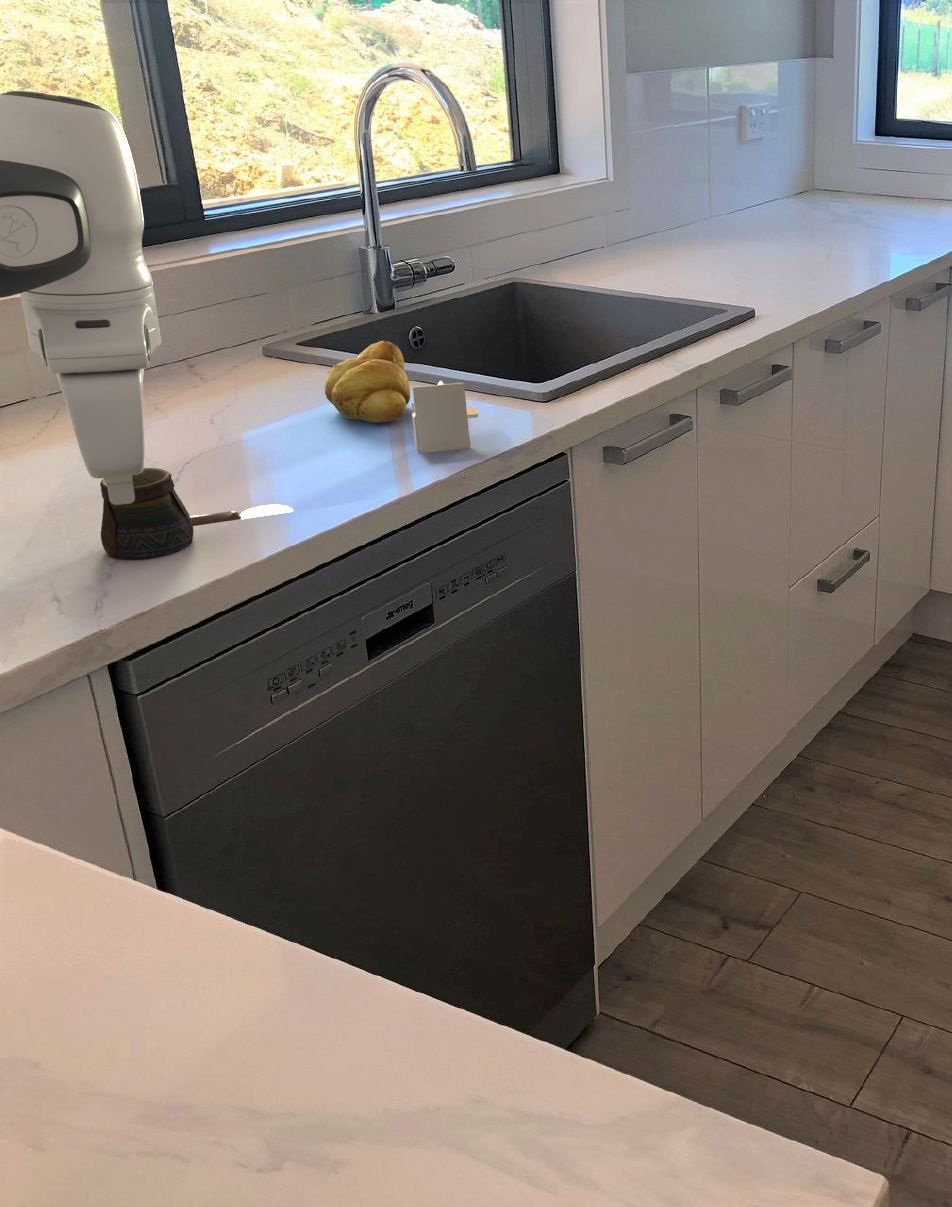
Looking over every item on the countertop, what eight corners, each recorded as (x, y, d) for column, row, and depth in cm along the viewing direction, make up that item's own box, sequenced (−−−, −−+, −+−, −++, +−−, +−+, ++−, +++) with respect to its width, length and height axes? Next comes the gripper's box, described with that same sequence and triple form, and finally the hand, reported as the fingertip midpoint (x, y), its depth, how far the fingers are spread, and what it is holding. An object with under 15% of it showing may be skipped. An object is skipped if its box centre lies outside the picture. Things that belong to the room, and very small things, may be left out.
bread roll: (421, 425, 155) (413, 358, 152) (335, 433, 151) (325, 365, 148) (405, 398, 166) (398, 335, 162) (325, 406, 162) (315, 341, 159)
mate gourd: (200, 544, 119) (179, 438, 115) (197, 574, 113) (176, 463, 109) (112, 554, 117) (88, 446, 113) (104, 585, 110) (79, 472, 106)
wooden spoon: (131, 550, 118) (127, 533, 117) (130, 532, 122) (127, 516, 121) (297, 527, 124) (295, 511, 123) (292, 511, 127) (289, 496, 127)
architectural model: (414, 445, 148) (406, 380, 145) (476, 438, 150) (470, 374, 147) (418, 453, 145) (410, 387, 142) (481, 447, 147) (475, 382, 144)
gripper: (46, 300, 105) (75, 465, 111) (44, 355, 89) (79, 546, 94) (134, 296, 108) (158, 458, 113) (147, 350, 92) (175, 536, 97)
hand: (122, 498), depth 104 cm, fingers closed
